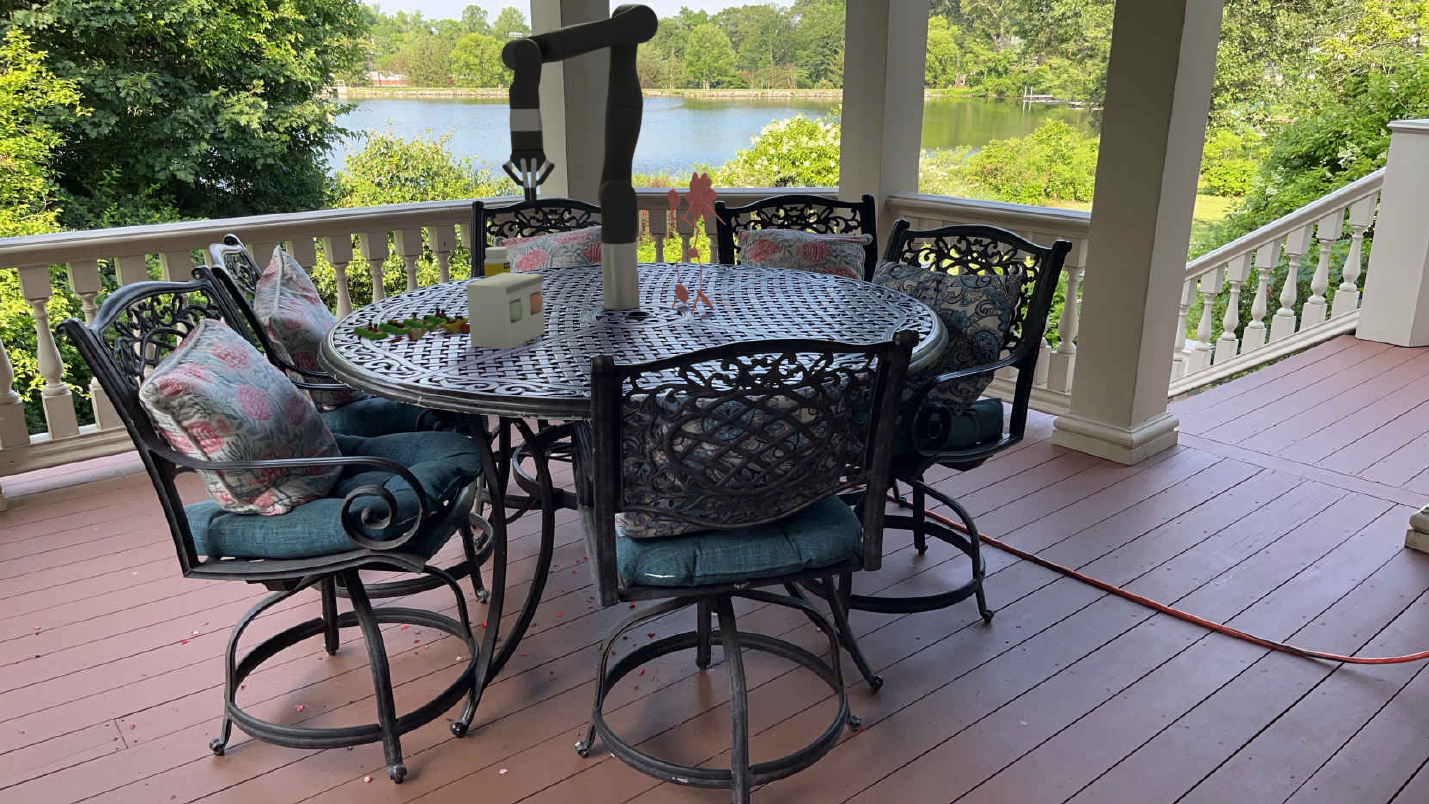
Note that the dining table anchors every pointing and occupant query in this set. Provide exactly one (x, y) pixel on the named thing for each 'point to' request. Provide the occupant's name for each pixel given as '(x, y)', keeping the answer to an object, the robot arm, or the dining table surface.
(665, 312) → the dining table surface
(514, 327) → the console
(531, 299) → the terracotta button
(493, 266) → the supplement bottle
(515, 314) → the green button
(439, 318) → the toy garden set
